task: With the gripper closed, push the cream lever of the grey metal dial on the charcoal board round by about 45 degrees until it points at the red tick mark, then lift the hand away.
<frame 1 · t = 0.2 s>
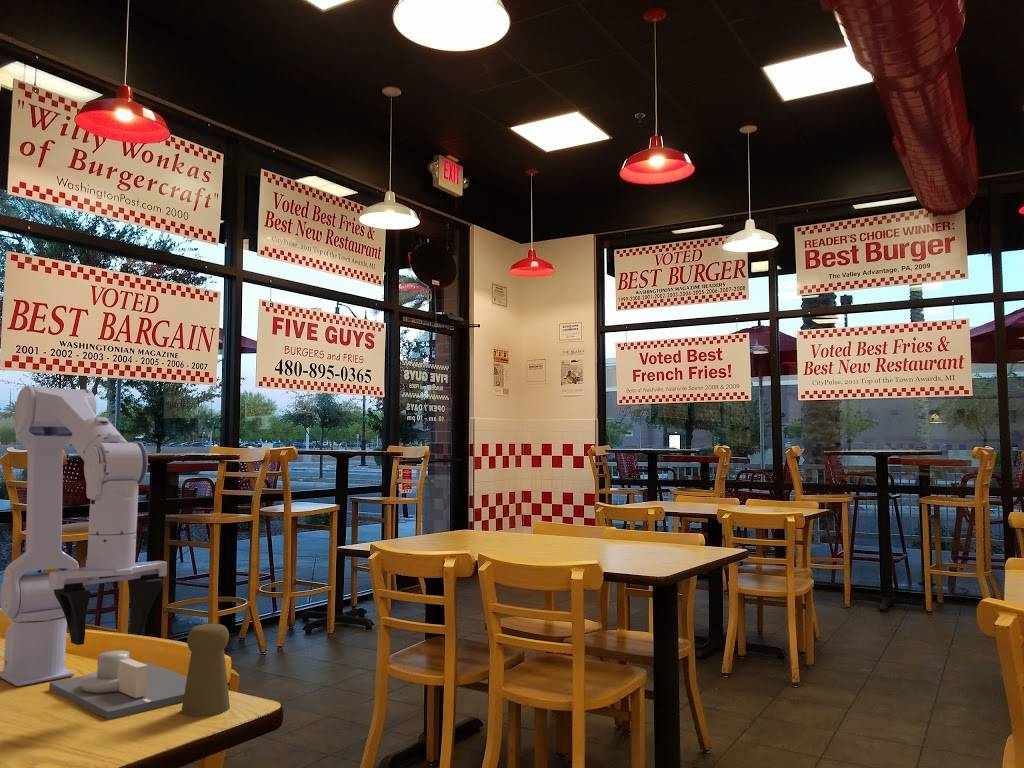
hand: (107, 638, 104), 10 cm above the table, tool pointing down, fingers open, 7 cm apart
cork: (205, 711, 105), on the table
dial: (120, 672, 111), point 3 cm above the table, hinge at 0.0°
dial board: (112, 693, 113), on the table
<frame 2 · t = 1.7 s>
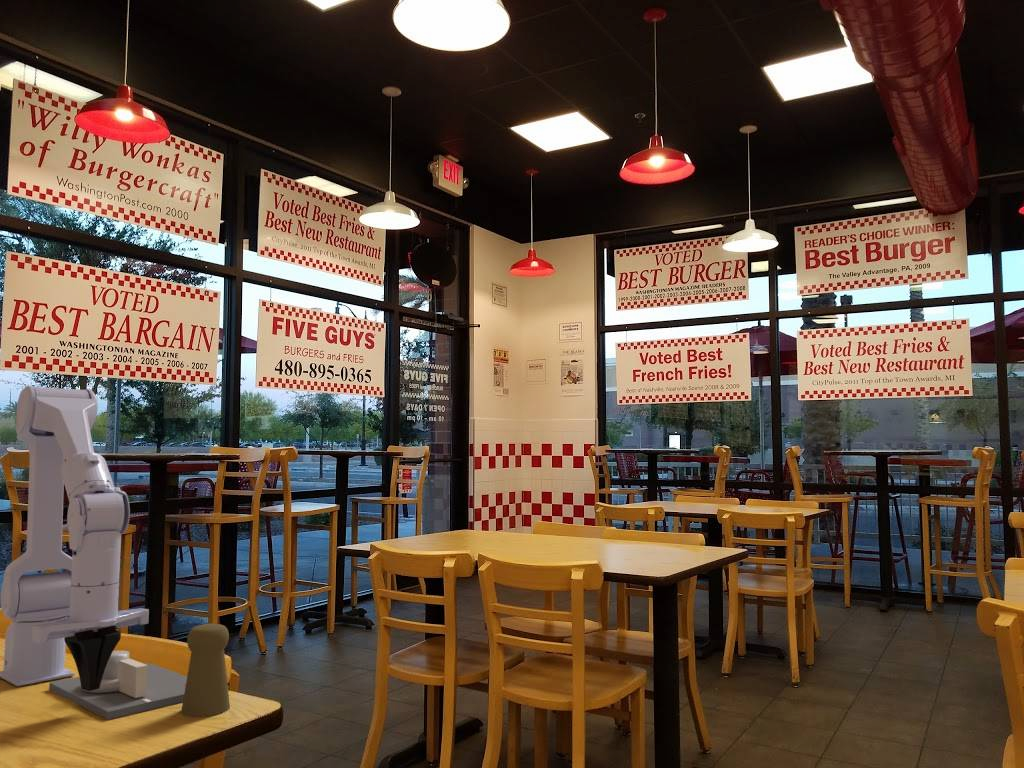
hand: (90, 688, 105), 3 cm above the table, tool pointing down, fingers closed
nothing on the table moved.
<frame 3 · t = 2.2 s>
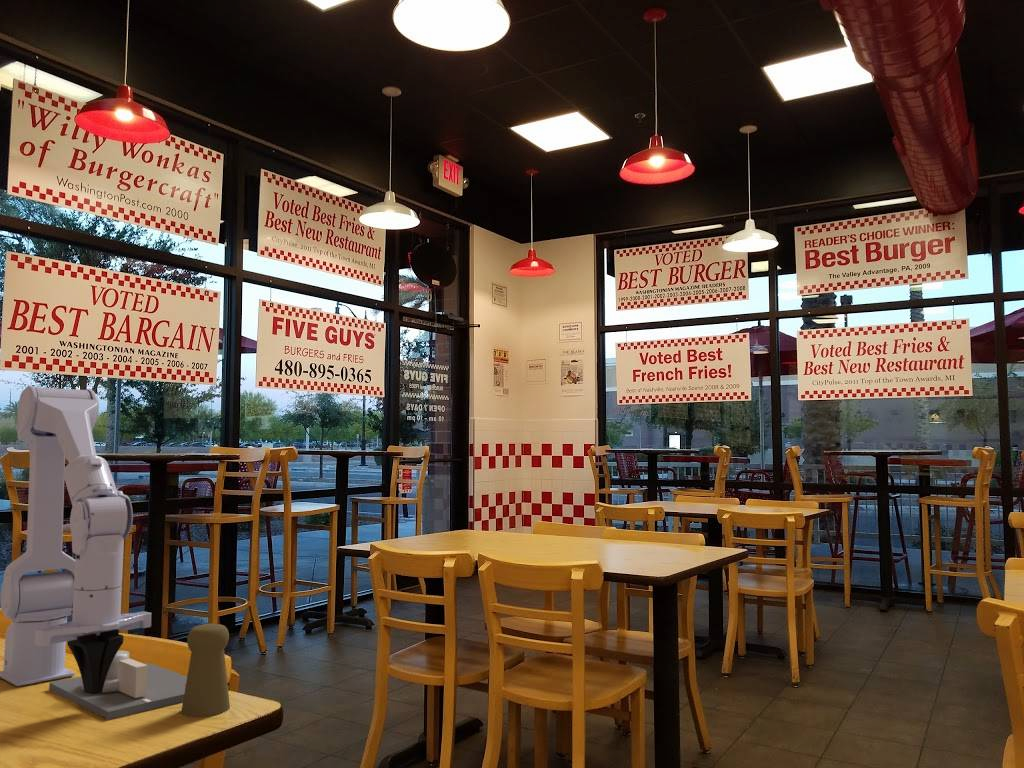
hand: (93, 692, 105), 2 cm above the table, tool pointing down, fingers closed
nothing on the table moved.
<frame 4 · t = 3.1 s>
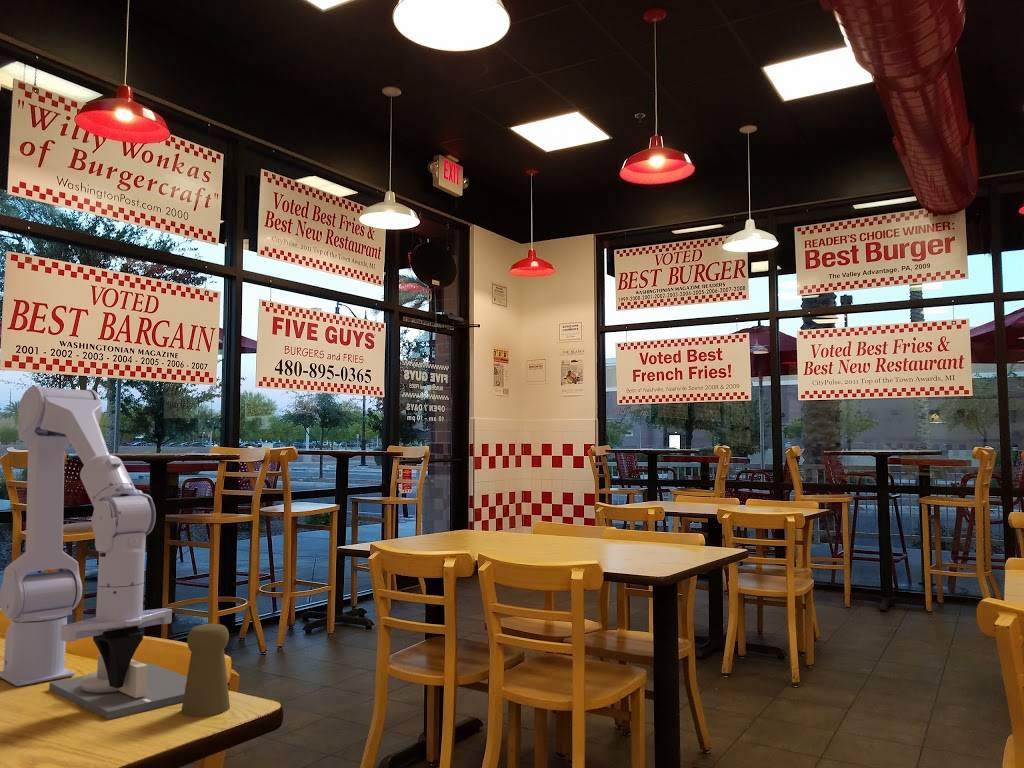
hand: (116, 686, 108), 2 cm above the table, tool pointing down, fingers closed
dial: (120, 672, 111), point 3 cm above the table, hinge at 0.2°, touching gripper
everything else where it was.
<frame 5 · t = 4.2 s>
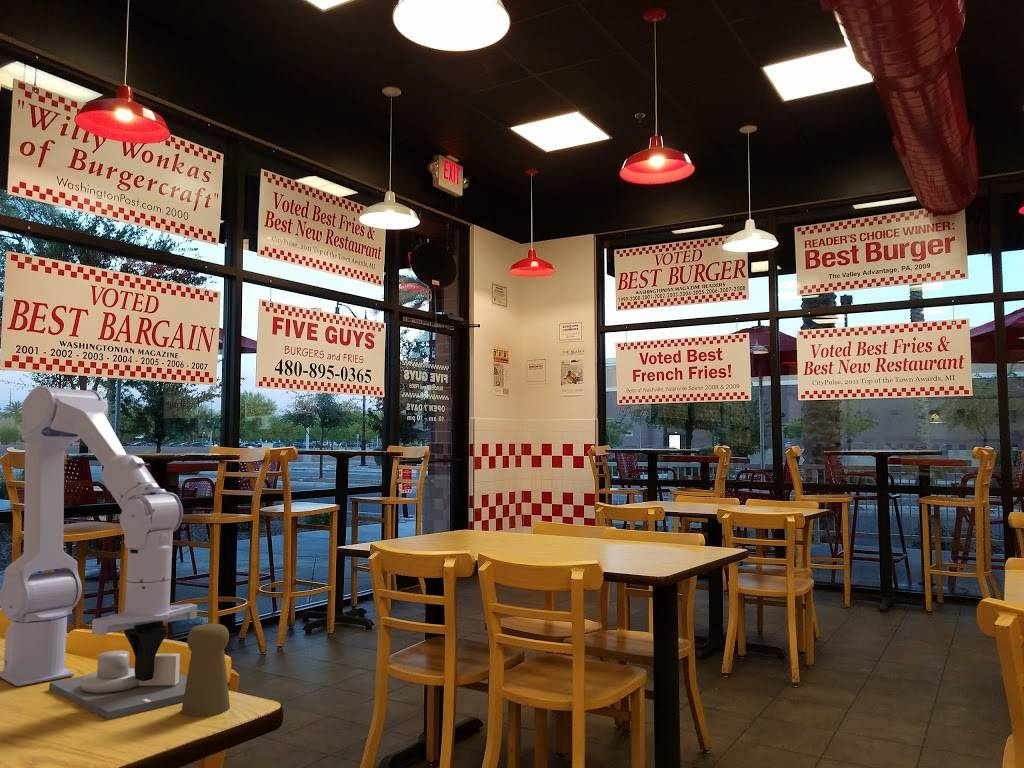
hand: (144, 679, 111), 2 cm above the table, tool pointing down, fingers closed, pressing on dial
dial: (131, 668, 113), point 3 cm above the table, hinge at 43.6°, touching gripper
everything else where it was.
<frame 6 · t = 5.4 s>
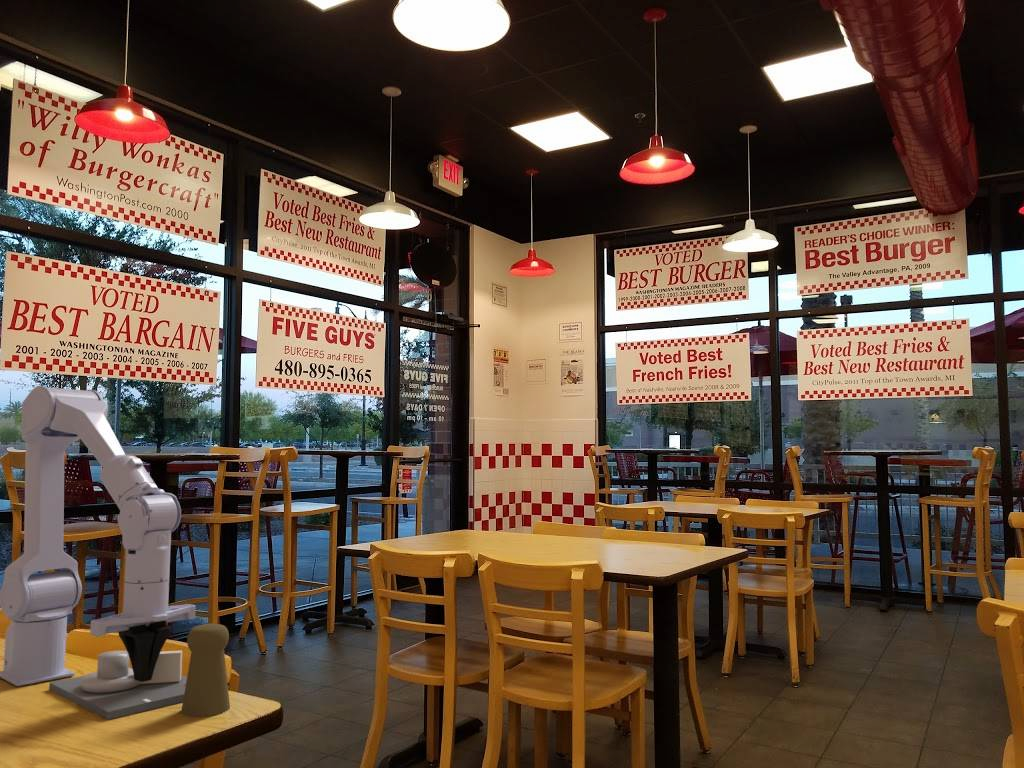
hand: (143, 679, 111), 2 cm above the table, tool pointing down, fingers closed
dial: (132, 667, 114), point 3 cm above the table, hinge at 55.7°
everything else where it was.
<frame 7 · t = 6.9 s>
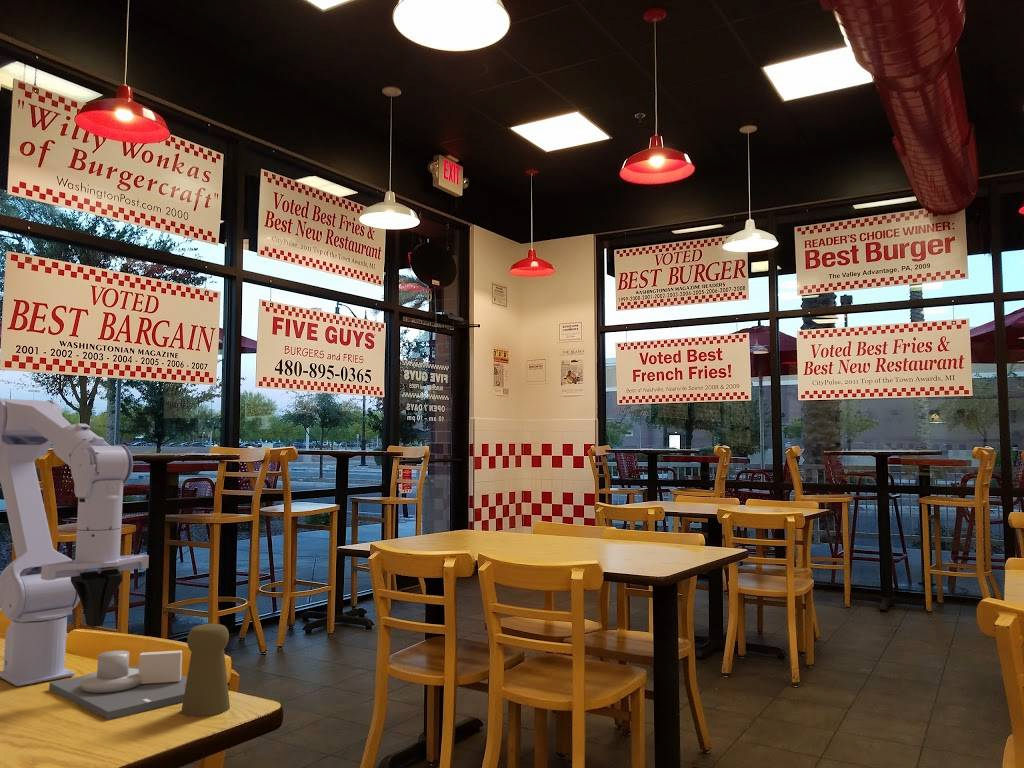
hand: (94, 625, 113), 9 cm above the table, tool pointing down, fingers closed
nothing on the table moved.
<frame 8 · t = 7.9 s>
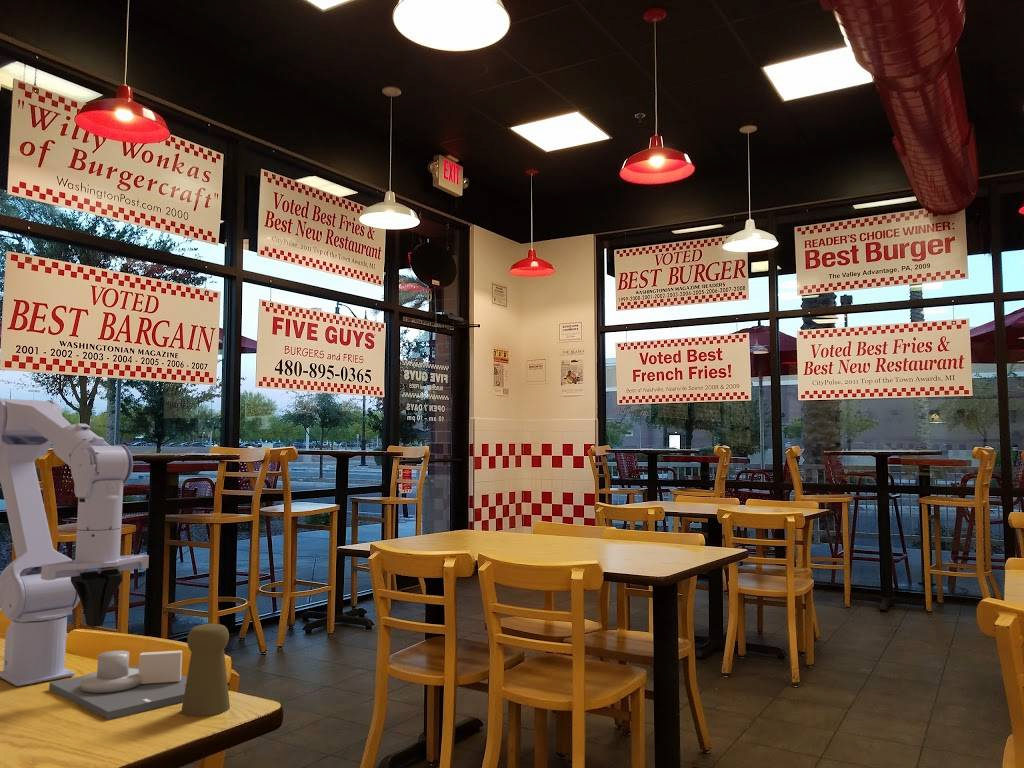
hand: (94, 625, 113), 9 cm above the table, tool pointing down, fingers closed
nothing on the table moved.
at the end: dial at +56° (first picture: +0°); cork moved 0.2 cm from its start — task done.
